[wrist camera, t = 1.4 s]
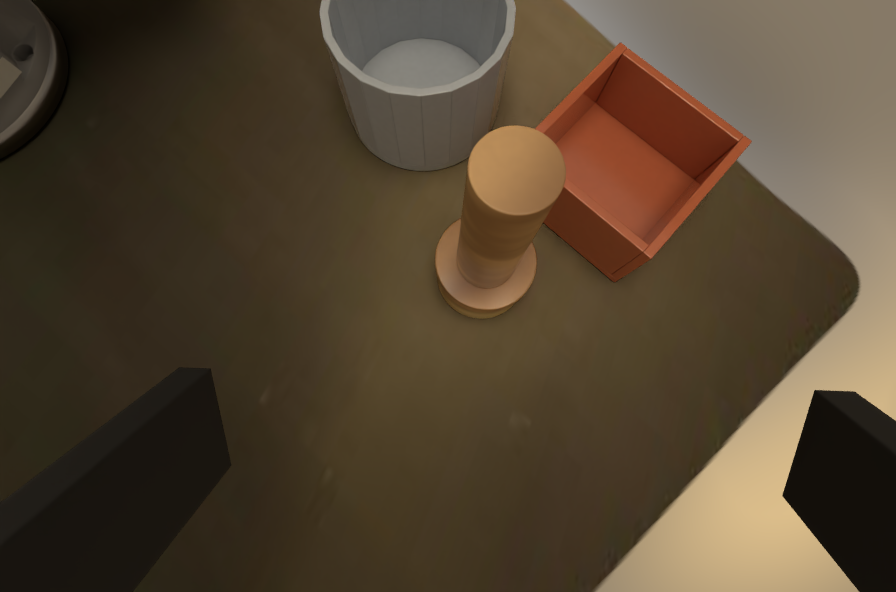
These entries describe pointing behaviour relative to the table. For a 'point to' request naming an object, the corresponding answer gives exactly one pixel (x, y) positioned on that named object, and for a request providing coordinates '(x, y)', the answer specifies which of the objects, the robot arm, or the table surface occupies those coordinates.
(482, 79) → the gray round bin
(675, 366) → the table surface
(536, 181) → the wooden peg
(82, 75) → the table surface
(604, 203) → the red square box
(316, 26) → the table surface
